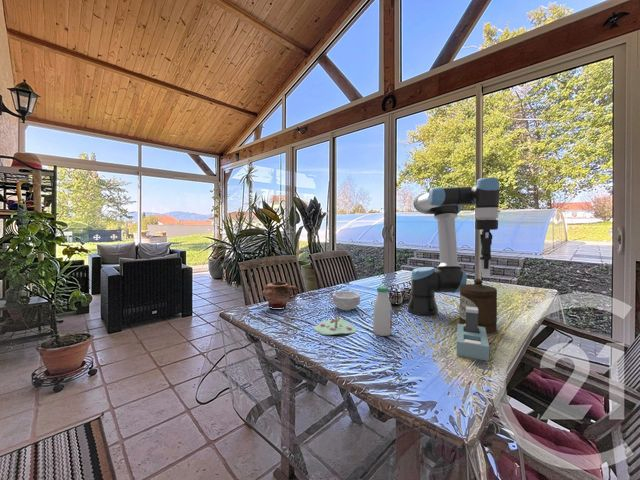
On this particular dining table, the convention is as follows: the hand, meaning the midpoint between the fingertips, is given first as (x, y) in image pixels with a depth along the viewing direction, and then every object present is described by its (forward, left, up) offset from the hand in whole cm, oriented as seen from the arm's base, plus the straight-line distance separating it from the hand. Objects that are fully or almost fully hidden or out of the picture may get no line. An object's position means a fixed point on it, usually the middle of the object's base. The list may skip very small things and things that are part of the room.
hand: (485, 274), depth 111 cm
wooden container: (-1, +18, -28) cm, 33 cm away
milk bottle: (-38, -7, -28) cm, 48 cm away
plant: (-60, -7, -28) cm, 67 cm away
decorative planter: (-99, +6, -28) cm, 103 cm away
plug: (-4, -1, -26) cm, 26 cm away
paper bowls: (-65, +20, -28) cm, 74 cm away
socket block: (-4, -6, -27) cm, 28 cm away
